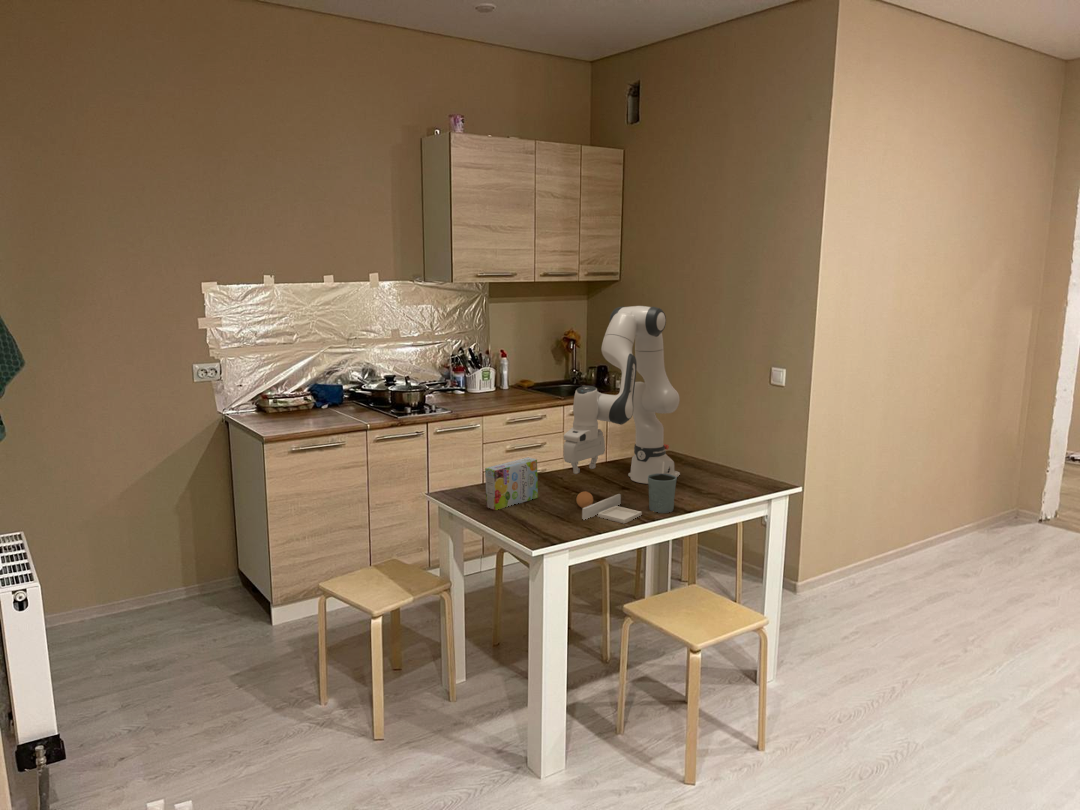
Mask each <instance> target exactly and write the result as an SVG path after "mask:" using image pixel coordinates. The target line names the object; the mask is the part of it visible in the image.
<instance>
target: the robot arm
mask: <svg viewBox="0 0 1080 810" xmlns="http://www.w3.org/2000/svg"><path fill="white" fill-rule="evenodd" d="M666 324H667V316H666V314H665V312H664V310H663V309H662V308H660V307H657V306H645V305H633V306H624V305H623V306H618V307H616V308H614V309H613V310H612V312H610V316H609V324H608V326H607V328H606V331H605V333H604V336H603V340H602V343H601V349H600V350H601V354H602V356H603V358H604V359H605V361H606V362H608V363H609V364H611V365H612V366H614V367H616V368H618V369H619V370H621V371H620V372H621V378H620V386H619V393H618V394H615V395H614V394H607V393H601V392H599V390H598V388H597V387H596V386H593V385H582V386H580V387H578V388H576V390H575V393H574V396H573V405H572V406H573V407H572V412H573V421H572V427H571V428H570V429H569V430H568V431H566V432H565V433H564V434H563V440H564V443H563V455H562V456H563V461H564V462H565V463H568V464H571V467H572V471H573V472H572V473H573V474H575V475H577V474H580V472H581V471H580V467H578V465H579V462H581V461H586V460H587V459H591V460H590V462H589V464H588V467H589V469H591V470H592V469H593V470H594V469H595V468H596V467H597V466H596V464H597V461H598V459H599V456H602V455H604V454H605V451H606V448H605V446H606V444H605V437H604V436H605V435H604V432H603V431H602V430H601V429H600V428H599V422H598V421H602V422H609V423H613V424H617V425H621V426H622V425H624V424H626V423H627V422H628V421H630V419H632V418H633V420H634V421H633V422H634V427H635V444H634V447H633V454H634V455H632V458H631V464H630V465H631V466H630V472H628V474H627V475H628V477H630V480H631V481H633V482H636V483H638V484H639V483H640V484H646V485H648V476H649V475H651V474H670V475H674V476H676V477H677V478H678V477H680V476H681V472H679V471H677V470H675V461H674V460H673V459H672V458H671V457H670V456H668V454H666V453H667V452H666V450H667V451H668V450H669V447H670V445H669V444H666V443H664V439H665V437H664V436H665V435H664V433H665V428H664V424H663V423H662V422H661V421H660V420H659V418H658V417H657V415H656V413H657V414H672V413H674V412H676V411H677V409H678V407H679V405H680V394H679V392H678V391H677V390H676V389H675V388H674V387H673V385H672V384H671V382H670V380H669V377H668V375H667V372H666V366H665V351H664V349H665V348H664V337H663V333H662V332H664V330H665V328H666ZM633 347H634V352H635V353H634V354H633ZM637 373H638V374H639V375H640V376H641V377H642V378H643V381H644V382H643V381H636V379H637V377H636V376H637ZM679 475H680V476H679Z"/></svg>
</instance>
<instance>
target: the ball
mask: <svg viewBox="0 0 1080 810" xmlns="http://www.w3.org/2000/svg"><path fill="white" fill-rule="evenodd" d="M575 500H576V503H577V505H578V507H579V508H581V509H582V508H585V507H587V506H590V505H592V504H594V497H593V495H592V494H591V492H589V491H586V490H585V491H582V492H579V493H578V495H577V496H576V499H575Z"/></svg>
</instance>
